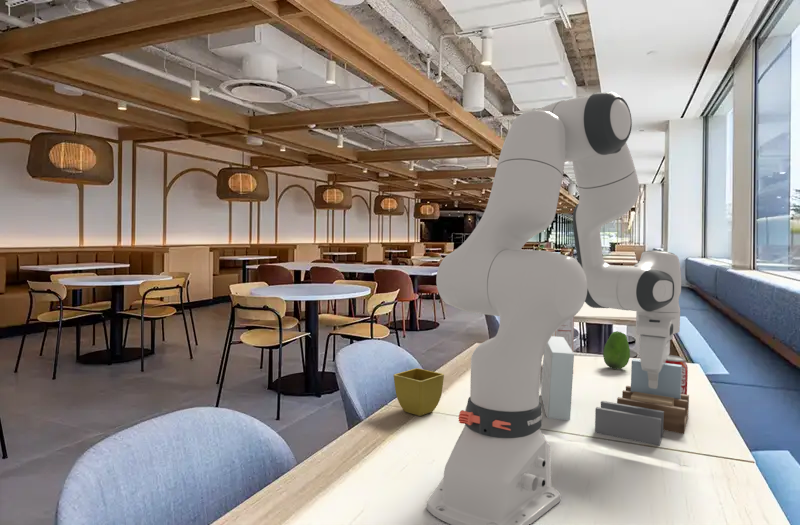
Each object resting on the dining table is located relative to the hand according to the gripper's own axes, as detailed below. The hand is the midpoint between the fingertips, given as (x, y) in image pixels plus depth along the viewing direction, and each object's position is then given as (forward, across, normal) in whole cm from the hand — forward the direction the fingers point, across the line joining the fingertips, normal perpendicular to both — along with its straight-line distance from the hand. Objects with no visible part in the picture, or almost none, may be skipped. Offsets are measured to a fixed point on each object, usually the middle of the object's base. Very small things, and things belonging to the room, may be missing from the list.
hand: (655, 383), depth 116 cm
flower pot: (+9, +26, -47) cm, 54 cm away
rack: (+8, +3, 0) cm, 9 cm away
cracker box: (+8, -34, -31) cm, 47 cm away
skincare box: (+9, +5, -21) cm, 23 cm away
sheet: (+7, 0, 0) cm, 7 cm away
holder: (+8, +16, -3) cm, 18 cm away
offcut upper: (+4, +5, 0) cm, 7 cm away
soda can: (+8, -13, +2) cm, 16 cm away
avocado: (+8, -44, -16) cm, 47 cm away
